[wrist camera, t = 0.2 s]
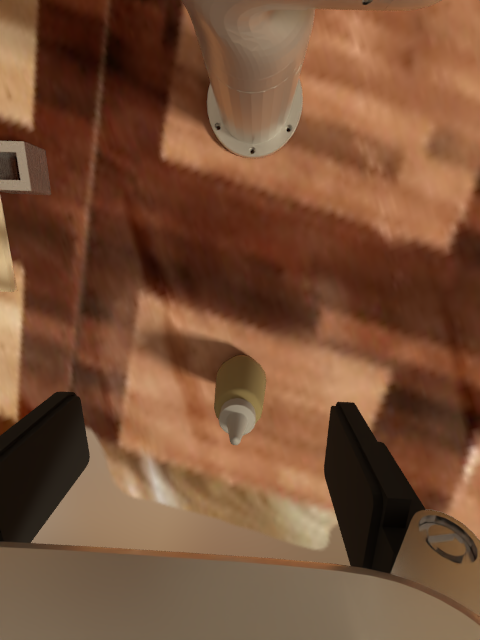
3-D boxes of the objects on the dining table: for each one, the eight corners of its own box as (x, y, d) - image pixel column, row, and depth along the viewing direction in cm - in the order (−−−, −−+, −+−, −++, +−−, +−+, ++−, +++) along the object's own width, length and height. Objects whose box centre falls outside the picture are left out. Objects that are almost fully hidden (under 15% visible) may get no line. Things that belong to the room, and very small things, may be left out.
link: (5, 148, 42) (-21, 140, 38) (45, 150, 42) (23, 141, 38) (12, 193, 44) (-11, 189, 40) (51, 195, 43) (31, 190, 40)
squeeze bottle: (211, 357, 50) (188, 421, 32) (255, 341, 48) (255, 400, 31) (229, 396, 51) (216, 477, 34) (272, 382, 50) (280, 458, 33)
